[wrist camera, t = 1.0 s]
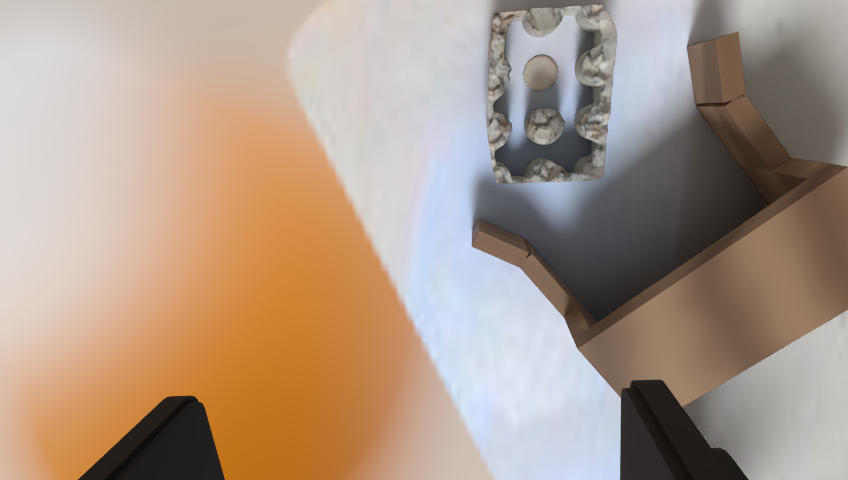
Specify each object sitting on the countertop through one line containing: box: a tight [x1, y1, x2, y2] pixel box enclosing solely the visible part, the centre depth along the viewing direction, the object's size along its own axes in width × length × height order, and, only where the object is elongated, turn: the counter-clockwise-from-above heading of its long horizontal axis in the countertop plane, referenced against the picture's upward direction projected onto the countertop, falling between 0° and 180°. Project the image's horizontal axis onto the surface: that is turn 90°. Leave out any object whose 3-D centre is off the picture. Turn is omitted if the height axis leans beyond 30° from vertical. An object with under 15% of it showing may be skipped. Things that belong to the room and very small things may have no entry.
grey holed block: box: [487, 5, 617, 183], centre depth 29 cm, size 11×8×4 cm
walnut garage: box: [472, 32, 848, 407], centre depth 28 cm, size 19×16×8 cm
